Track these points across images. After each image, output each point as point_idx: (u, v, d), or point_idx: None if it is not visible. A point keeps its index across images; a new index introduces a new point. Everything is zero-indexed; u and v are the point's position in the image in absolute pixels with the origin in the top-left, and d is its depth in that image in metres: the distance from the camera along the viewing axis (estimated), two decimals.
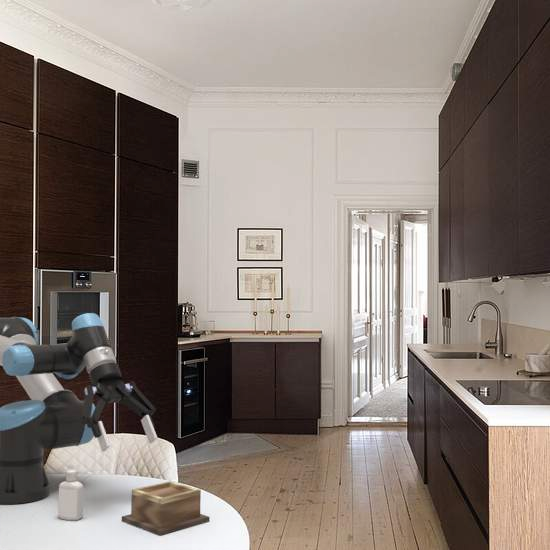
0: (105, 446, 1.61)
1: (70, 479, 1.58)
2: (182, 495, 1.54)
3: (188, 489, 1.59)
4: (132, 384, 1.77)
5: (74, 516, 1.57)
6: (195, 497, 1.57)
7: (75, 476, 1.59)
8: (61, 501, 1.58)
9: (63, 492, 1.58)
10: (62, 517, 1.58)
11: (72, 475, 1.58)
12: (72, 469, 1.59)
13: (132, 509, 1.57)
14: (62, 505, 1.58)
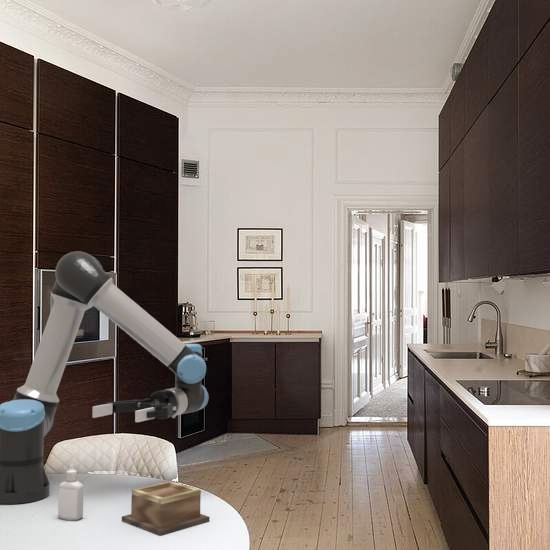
0: (138, 419, 1.67)
1: (70, 479, 1.58)
2: (182, 495, 1.54)
3: (188, 489, 1.59)
4: None
5: (74, 516, 1.57)
6: (195, 497, 1.57)
7: (75, 476, 1.59)
8: (61, 501, 1.58)
9: (63, 492, 1.58)
10: (62, 517, 1.58)
11: (72, 475, 1.58)
12: (72, 469, 1.59)
13: (132, 509, 1.57)
14: (62, 505, 1.58)
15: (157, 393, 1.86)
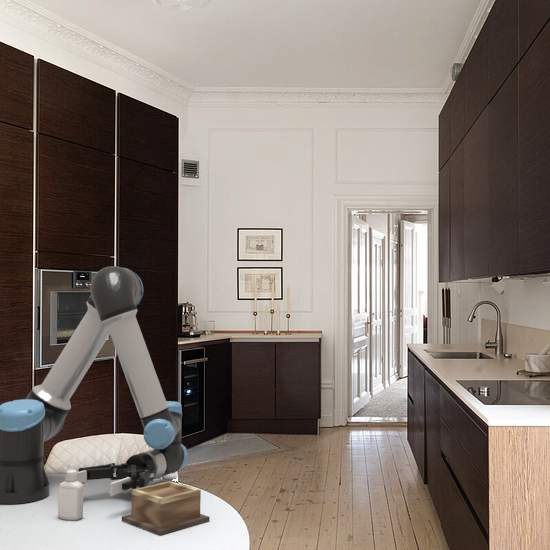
0: (113, 491, 1.60)
1: (70, 479, 1.58)
2: (182, 495, 1.54)
3: (188, 489, 1.59)
4: None
5: (74, 516, 1.57)
6: (195, 497, 1.57)
7: (75, 476, 1.59)
8: (61, 501, 1.58)
9: (63, 492, 1.58)
10: (62, 517, 1.58)
11: (72, 475, 1.58)
12: (72, 469, 1.59)
13: (132, 509, 1.57)
14: (62, 505, 1.58)
15: (134, 457, 1.78)
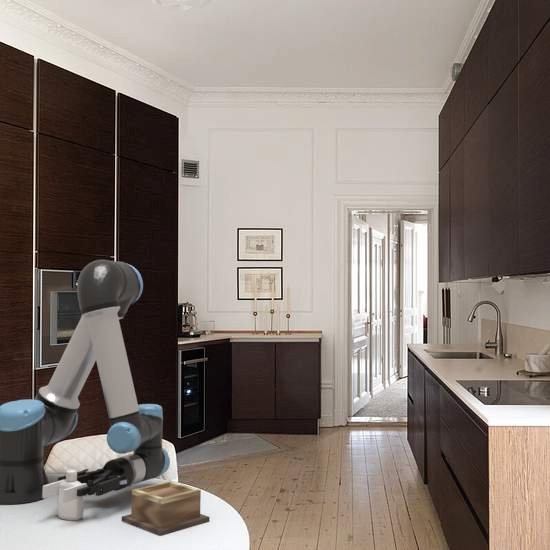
0: (66, 498, 1.53)
1: (70, 479, 1.58)
2: (182, 495, 1.54)
3: (188, 489, 1.59)
4: None
5: (74, 516, 1.57)
6: (195, 497, 1.57)
7: (75, 476, 1.59)
8: (61, 501, 1.58)
9: None
10: (62, 517, 1.58)
11: (72, 475, 1.58)
12: (72, 469, 1.59)
13: (132, 509, 1.57)
14: (62, 505, 1.58)
15: (111, 462, 1.72)
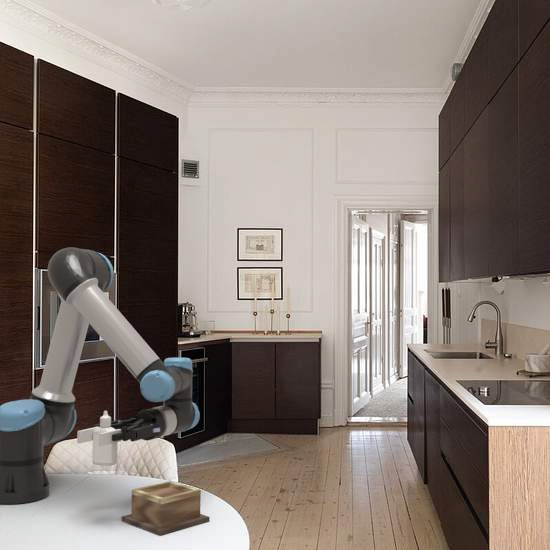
0: (102, 442, 1.53)
1: (104, 424, 1.58)
2: (182, 495, 1.54)
3: (188, 489, 1.59)
4: None
5: (109, 461, 1.56)
6: (195, 497, 1.57)
7: (109, 422, 1.58)
8: (95, 447, 1.58)
9: (98, 437, 1.57)
10: (97, 463, 1.57)
11: (106, 420, 1.58)
12: (106, 415, 1.58)
13: (132, 509, 1.57)
14: (97, 451, 1.57)
15: (143, 412, 1.71)
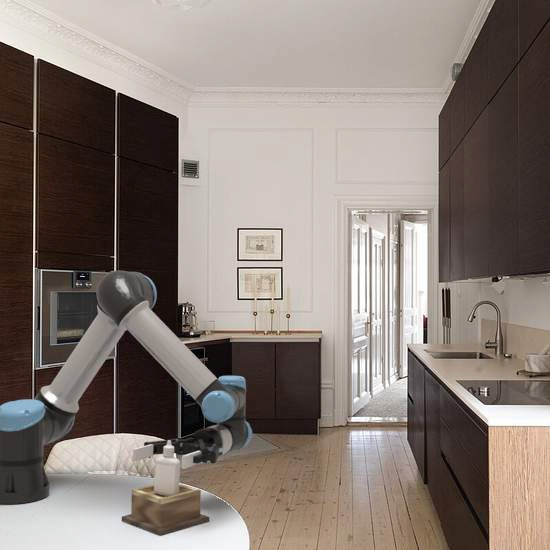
0: (185, 465, 1.52)
1: (167, 454, 1.57)
2: (182, 495, 1.54)
3: (188, 489, 1.59)
4: None
5: (171, 492, 1.56)
6: (195, 497, 1.57)
7: (173, 452, 1.57)
8: (158, 476, 1.57)
9: (161, 467, 1.56)
10: (159, 492, 1.56)
11: (170, 450, 1.57)
12: (170, 445, 1.57)
13: (132, 509, 1.57)
14: (159, 480, 1.56)
15: (200, 432, 1.71)
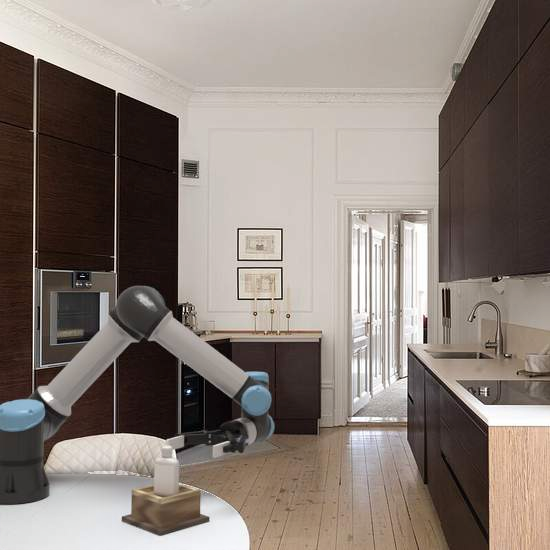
0: (215, 454, 1.63)
1: (166, 455, 1.57)
2: (182, 495, 1.54)
3: (188, 489, 1.59)
4: None
5: (171, 492, 1.56)
6: (195, 497, 1.57)
7: (171, 452, 1.57)
8: (157, 477, 1.57)
9: (160, 468, 1.57)
10: (158, 493, 1.56)
11: (168, 450, 1.57)
12: (168, 445, 1.58)
13: (132, 509, 1.57)
14: (158, 481, 1.57)
15: (227, 424, 1.81)
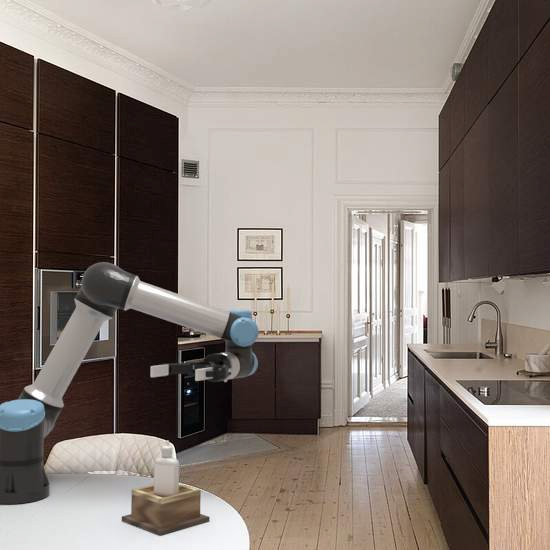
0: (198, 377, 1.68)
1: (166, 455, 1.57)
2: (182, 495, 1.54)
3: (188, 489, 1.59)
4: None
5: (171, 492, 1.56)
6: (195, 497, 1.57)
7: (171, 452, 1.57)
8: (157, 477, 1.57)
9: (160, 468, 1.57)
10: (158, 493, 1.56)
11: (168, 450, 1.57)
12: (168, 445, 1.58)
13: (132, 509, 1.57)
14: (158, 481, 1.57)
15: (211, 356, 1.87)
